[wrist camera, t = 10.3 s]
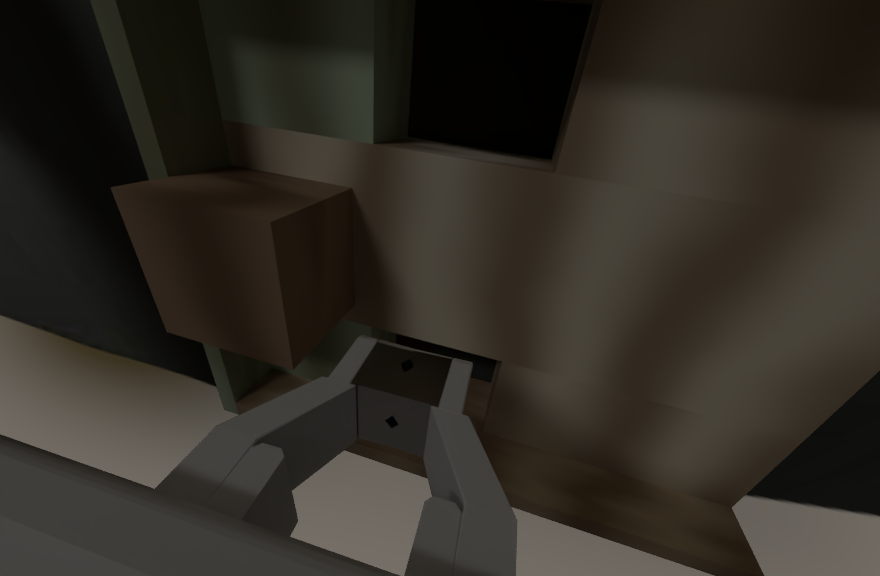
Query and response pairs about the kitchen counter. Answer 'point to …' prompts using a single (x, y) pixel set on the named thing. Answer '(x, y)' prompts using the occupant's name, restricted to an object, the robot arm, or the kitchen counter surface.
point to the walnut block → (244, 257)
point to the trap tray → (570, 235)
